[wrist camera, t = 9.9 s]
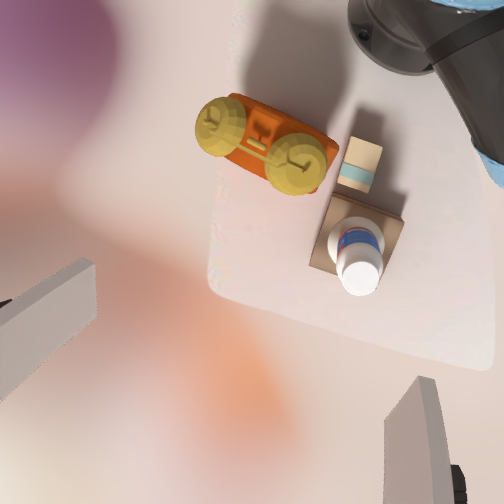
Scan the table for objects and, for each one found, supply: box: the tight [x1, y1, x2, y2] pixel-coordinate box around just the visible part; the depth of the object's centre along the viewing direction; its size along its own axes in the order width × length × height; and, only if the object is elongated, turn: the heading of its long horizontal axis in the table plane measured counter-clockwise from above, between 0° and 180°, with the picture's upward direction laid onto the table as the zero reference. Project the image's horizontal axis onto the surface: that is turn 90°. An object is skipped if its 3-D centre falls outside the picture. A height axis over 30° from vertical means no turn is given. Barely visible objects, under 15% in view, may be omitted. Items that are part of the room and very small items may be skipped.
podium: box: [309, 192, 404, 289], centre depth 42 cm, size 10×10×3 cm
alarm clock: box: [195, 93, 339, 196], centre depth 32 cm, size 13×6×20 cm, turn 64°
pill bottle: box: [336, 226, 383, 296], centre depth 36 cm, size 6×5×10 cm
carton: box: [337, 136, 383, 193], centre depth 38 cm, size 6×4×4 cm
